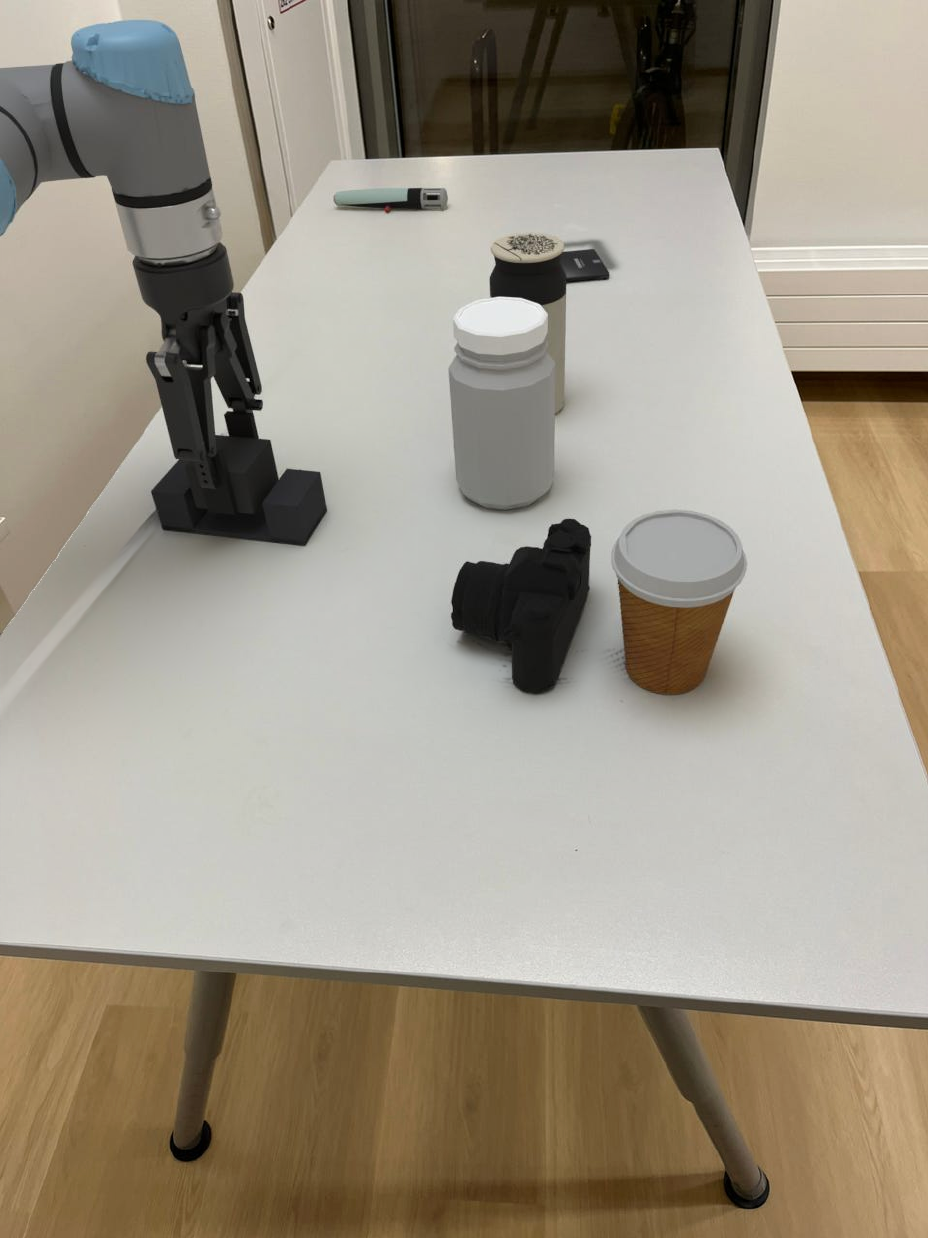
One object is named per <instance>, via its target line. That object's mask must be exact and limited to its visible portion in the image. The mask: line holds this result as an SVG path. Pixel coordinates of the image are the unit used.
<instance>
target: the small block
mask: <svg viewBox="0 0 928 1238" xmlns="http://www.w3.org/2000/svg"><path fill="white" fill-rule="evenodd" d="M215 437H216V449H221V450H223V452H224V456H225V460H226V464H227V468H228V473H229V477H230V481H231V485H232V489H233V493H234V497H235V501H236V505H237V509H238V511H237V512H240V513H250V514H255V512H256V511H257V509H258V508H259V507H260V505H261V504H262V502H263V501H264V500H265V498H266V497H267V495H268V494H269V493H270V491H271V490H272V488H273V487H274V486H275V484H276V483H277V482H278V480H279V479H280V477H279V474H278V469H277V463H276V460H275V454H274V450H273V446H272V439H267V438H259V439H256V438H245V437H233V436H229V435H223V434H221V435H220V434H215ZM185 469H186V473H187V476H188V480H189V483H190V487H191V490H192V494H193V497H194V501H195V504H196V507H197V508H203V509H207V505H206V502H205V498H204V494H203V491H202V487H201V486H200V484H199V480H198V477H197V473H196V470H195V466H194V462H193V461H190V462H189V463H188V465H187V466H186V467H185Z"/></svg>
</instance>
